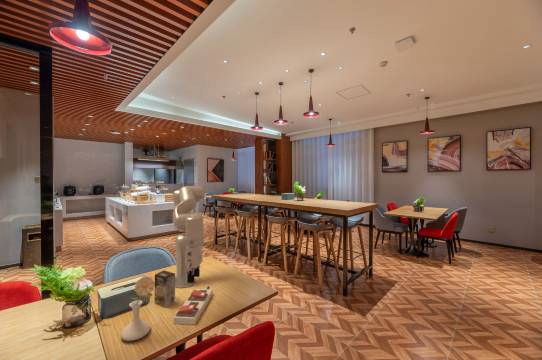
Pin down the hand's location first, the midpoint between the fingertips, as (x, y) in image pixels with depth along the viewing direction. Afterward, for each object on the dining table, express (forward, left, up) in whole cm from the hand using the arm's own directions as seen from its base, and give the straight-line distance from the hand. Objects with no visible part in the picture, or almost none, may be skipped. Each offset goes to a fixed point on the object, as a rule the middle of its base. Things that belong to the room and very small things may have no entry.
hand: (193, 279), depth 114 cm
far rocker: (-3, +14, -16) cm, 21 cm away
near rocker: (-3, 0, -16) cm, 16 cm away
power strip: (-3, +14, -20) cm, 24 cm away
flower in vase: (-20, -12, -20) cm, 30 cm away
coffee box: (-21, +13, -20) cm, 32 cm away
